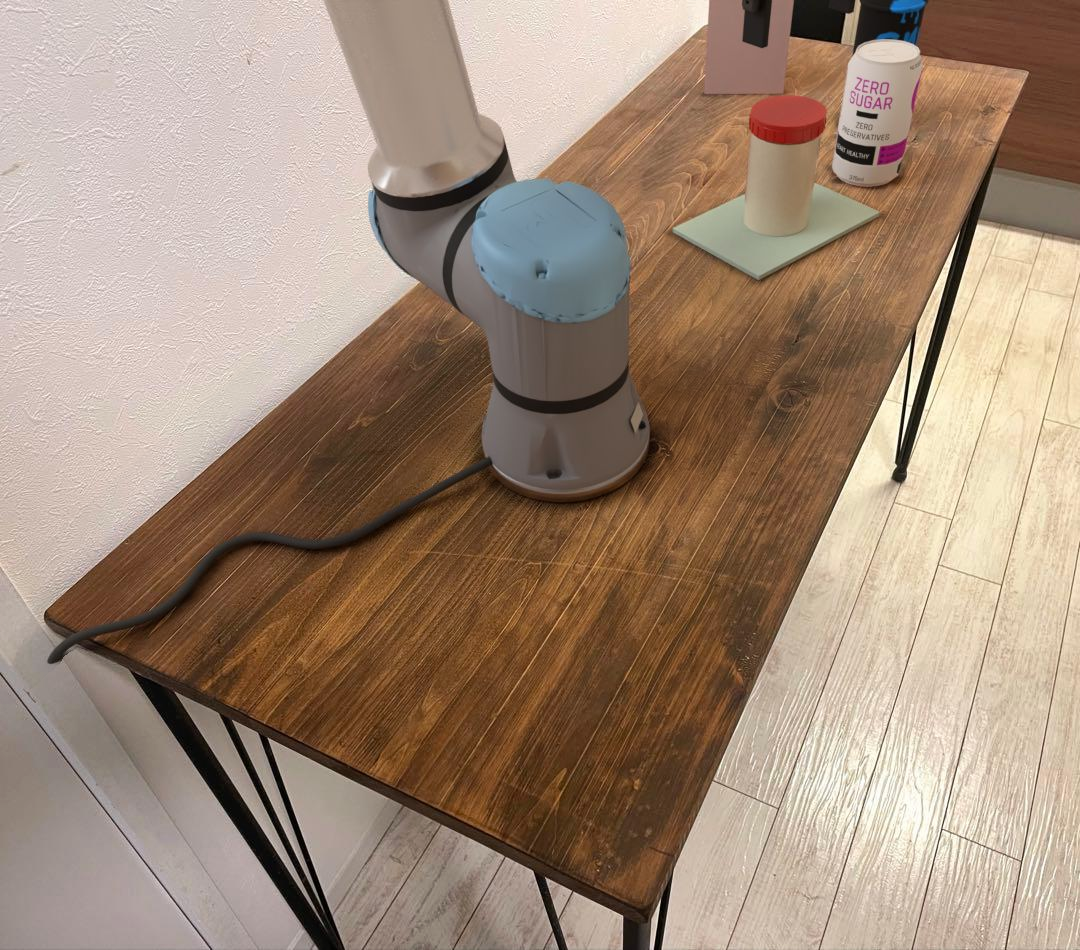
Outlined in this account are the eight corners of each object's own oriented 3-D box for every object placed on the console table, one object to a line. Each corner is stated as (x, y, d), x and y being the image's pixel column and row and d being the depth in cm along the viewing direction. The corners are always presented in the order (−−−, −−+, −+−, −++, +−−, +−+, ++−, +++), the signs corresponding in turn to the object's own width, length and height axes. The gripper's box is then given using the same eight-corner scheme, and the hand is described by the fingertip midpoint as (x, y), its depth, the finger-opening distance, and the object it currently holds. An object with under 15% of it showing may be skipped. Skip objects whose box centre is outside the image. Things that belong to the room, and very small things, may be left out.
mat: (758, 280, 100) (759, 276, 100) (672, 232, 109) (672, 227, 108) (879, 216, 108) (880, 211, 108) (790, 175, 116) (790, 171, 116)
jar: (776, 244, 104) (789, 138, 96) (729, 219, 109) (737, 116, 100) (822, 220, 107) (839, 115, 98) (774, 197, 112) (786, 95, 103)
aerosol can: (827, 118, 127) (851, -41, 113) (875, 104, 129) (904, -54, 115) (866, 140, 122) (896, -24, 108) (915, 125, 124) (951, -38, 110)
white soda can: (892, 157, 118) (918, 35, 107) (904, 188, 112) (932, 63, 102) (827, 158, 119) (846, 38, 108) (835, 190, 113) (856, 66, 102)
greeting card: (786, 91, 134) (799, -20, 124) (757, 109, 131) (767, -4, 120) (722, 74, 140) (730, -34, 130) (692, 90, 137) (697, -19, 126)
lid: (788, 151, 96) (790, 134, 95) (733, 127, 101) (734, 110, 100) (840, 127, 99) (843, 110, 98) (784, 105, 104) (786, 88, 103)
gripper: (888, -267, 84) (849, -13, 100) (695, -222, 75) (685, 50, 90) (959, -263, 80) (907, 3, 95) (762, -214, 71) (739, 71, 86)
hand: (798, 26), depth 93 cm, fingers open, 12 cm apart
